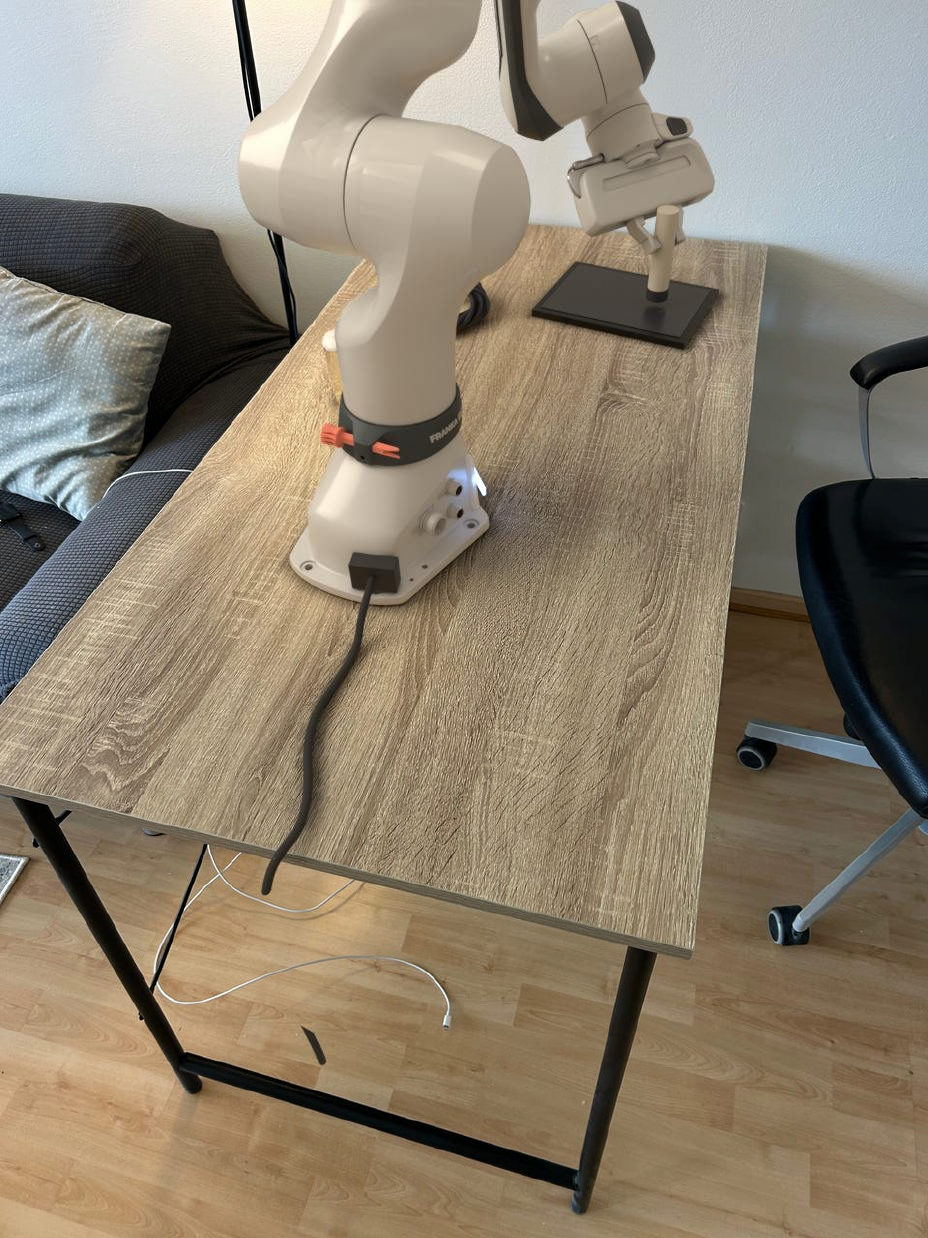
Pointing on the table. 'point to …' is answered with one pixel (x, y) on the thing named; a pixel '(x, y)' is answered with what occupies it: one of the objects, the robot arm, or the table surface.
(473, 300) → the cable
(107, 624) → the table surface
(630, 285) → the tablet
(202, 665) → the table surface
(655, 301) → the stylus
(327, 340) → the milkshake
